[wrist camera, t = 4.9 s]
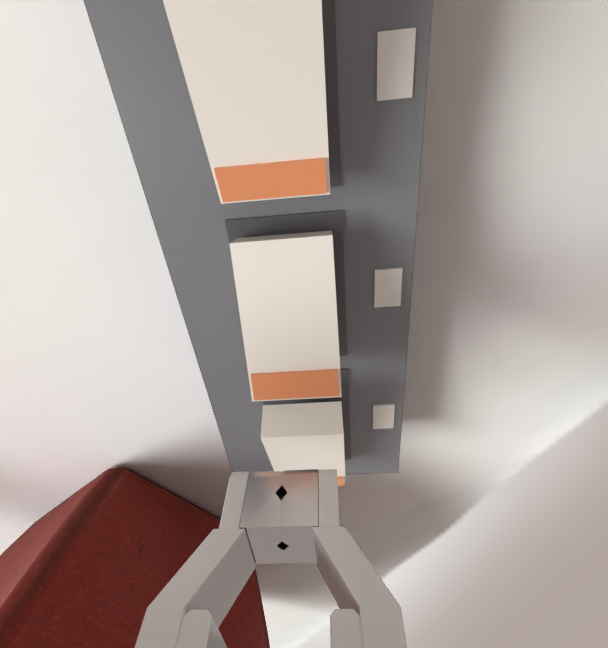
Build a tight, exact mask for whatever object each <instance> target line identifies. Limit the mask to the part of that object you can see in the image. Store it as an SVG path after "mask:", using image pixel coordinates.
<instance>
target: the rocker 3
mask: <svg viewBox="0 0 608 648" xmlns="http://www.w3.org/2000/svg"><path fill="white" fill-rule="evenodd" d="M261 440H262V443H263V445H264V448H265V450H266V452H267V455H268V457H269V460H270V462H271V465H272V467H273V469H274V471H286V470H308V469H318V470H324V469H337V479H338V486H344V484H346V482H345V454H344V430H343V417H342V404H341V401H339V402H319V403H299V404H279V405H263V410H262V424H261Z"/></svg>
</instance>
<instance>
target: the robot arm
mask: <svg viewBox="0 0 608 648" xmlns="http://www.w3.org/2000/svg"><path fill="white" fill-rule="evenodd" d="M282 563H298V564H317V566H318V568H319V570H320V572H321V573H322V575H323V577H324V579H325V581H326V583H327V585H328V587H329V589H330V591H331V593H332V594H333V596H334V598H335V600H336V602H337V604H338V606H339V608H340V609H335V610H334V611H333V613H332V614H331V615H330V634H331V635H330V636H331V648H407V644H406V638H405V631H404V625H403V619H402V612H401V607H400V606H399V604H398V603H397V601H396V600H395V598H394V597H393V595H392V594H391V592H390V591H389V590H388V588H387V587H386V585H385V584H384V582H383V581H382V579H381V578H380V576H379V575H378V573H377V572H376V571H375V569H374V568H373V566H372V565H371V563H370V562H369V560H368V559H367V557H366V556H365V554H364V553H363V552H362V550H361V549H360V547H359V546H358V544H357V543H356V541H355V540H354V538H353V537H352V536H351V534H350V533H349V531H348V530H347V528H346V527H340V517H339V498H338V479H337V469H324V470H318V469H308V470H286V471H256V472H250V471H246V472H232V474H231V476H230V478H229V483H228V487H227V492H226V497H225V502H224V506H223V511H222V516H221V520H220V525H219V529H213V530H212V531H211V533H210V534H209V535H208V536H207V537H206V539H205V540H204V541H203V542H202V543H201V545H200V546H199V547H198V548H197V549H196V550H195V552H194V553H193V554H192V555H191V556H190V558H189V559H188V560H187V561H186V562H185V564H184V565H183V566H182V567H181V568H180V569H179V571H178V572H177V573H176V574H175V575H174V577H173V578H172V579H171V580H170V581H169V583H168V584H167V585H166V586H165V587H164V588H163V590H162V591H161V592H160V593H159V594H158V596H157V597H156V598H155V599H154V600H153V602H152V603H151V604H150V605H149V606H148V607H147V610H146V613H145V616H144V619H143V623H142V626H141V629H140V632H139V635H138V638H137V642H136V645H135V648H227V646H226V644H225V642H224V640H223V638H222V636H221V634H220V631H219V629H218V628H219V626H220V625H221V623H222V621H223V620H224V618H225V616H226V615H227V613H228V612H229V610H230V608H231V607H232V605H233V603H234V602H235V600H236V599H237V597H238V595H239V594H240V592H241V590H242V589H243V587H244V585H245V584H246V582H247V581H248V579H249V577H250V576H251V574H252V572H253V571H254V569H255V568H256V565H258V564H282Z"/></svg>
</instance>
